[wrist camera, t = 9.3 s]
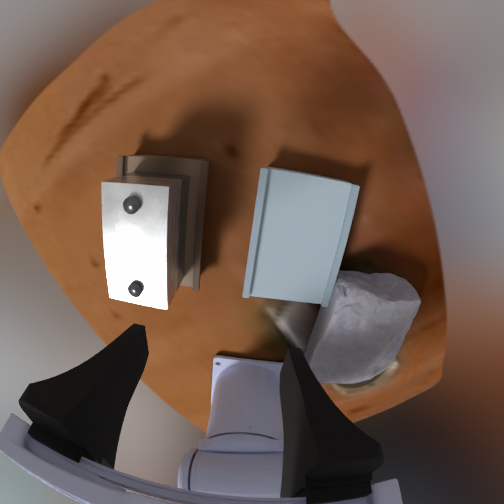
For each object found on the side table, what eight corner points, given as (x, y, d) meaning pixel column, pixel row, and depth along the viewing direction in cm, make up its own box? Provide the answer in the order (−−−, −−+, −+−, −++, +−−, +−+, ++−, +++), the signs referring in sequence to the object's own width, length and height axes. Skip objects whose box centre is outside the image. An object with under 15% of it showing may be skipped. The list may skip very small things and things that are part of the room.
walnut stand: (213, 159, 19) (208, 161, 17) (203, 279, 23) (198, 290, 21) (128, 154, 19) (117, 156, 17) (129, 267, 23) (120, 277, 21)
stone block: (407, 266, 24) (322, 263, 22) (436, 292, 20) (348, 296, 18) (367, 352, 29) (291, 361, 27) (385, 380, 25) (304, 396, 23)
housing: (184, 276, 21) (166, 312, 17) (134, 268, 21) (107, 299, 17) (190, 175, 18) (167, 187, 14) (134, 171, 18) (99, 182, 14)
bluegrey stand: (351, 182, 19) (359, 186, 18) (323, 295, 23) (327, 307, 21) (260, 165, 19) (260, 167, 17) (243, 285, 23) (242, 297, 21)
